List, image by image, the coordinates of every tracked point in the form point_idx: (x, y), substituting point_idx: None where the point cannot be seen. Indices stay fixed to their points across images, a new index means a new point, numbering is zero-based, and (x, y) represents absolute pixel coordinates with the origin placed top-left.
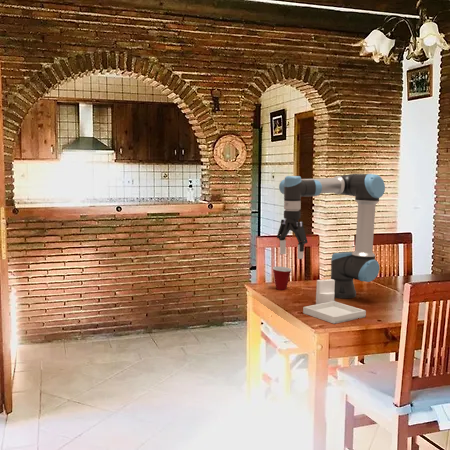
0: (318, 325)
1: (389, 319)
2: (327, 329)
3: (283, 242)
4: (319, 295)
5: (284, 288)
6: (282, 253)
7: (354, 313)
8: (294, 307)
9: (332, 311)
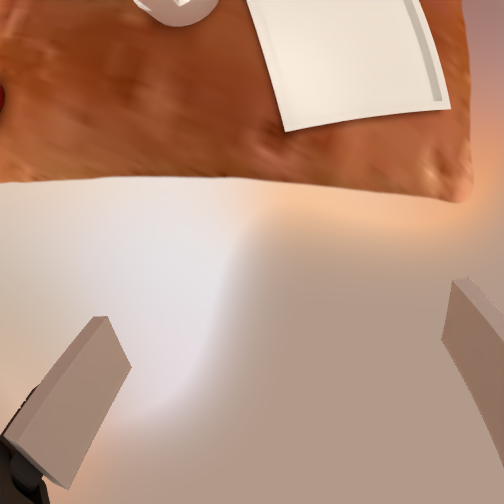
0: (434, 168)
1: None
2: (471, 168)
3: (55, 446)
4: (183, 9)
5: (1, 93)
6: (119, 356)
7: (421, 11)
8: (195, 126)
9: (322, 27)
